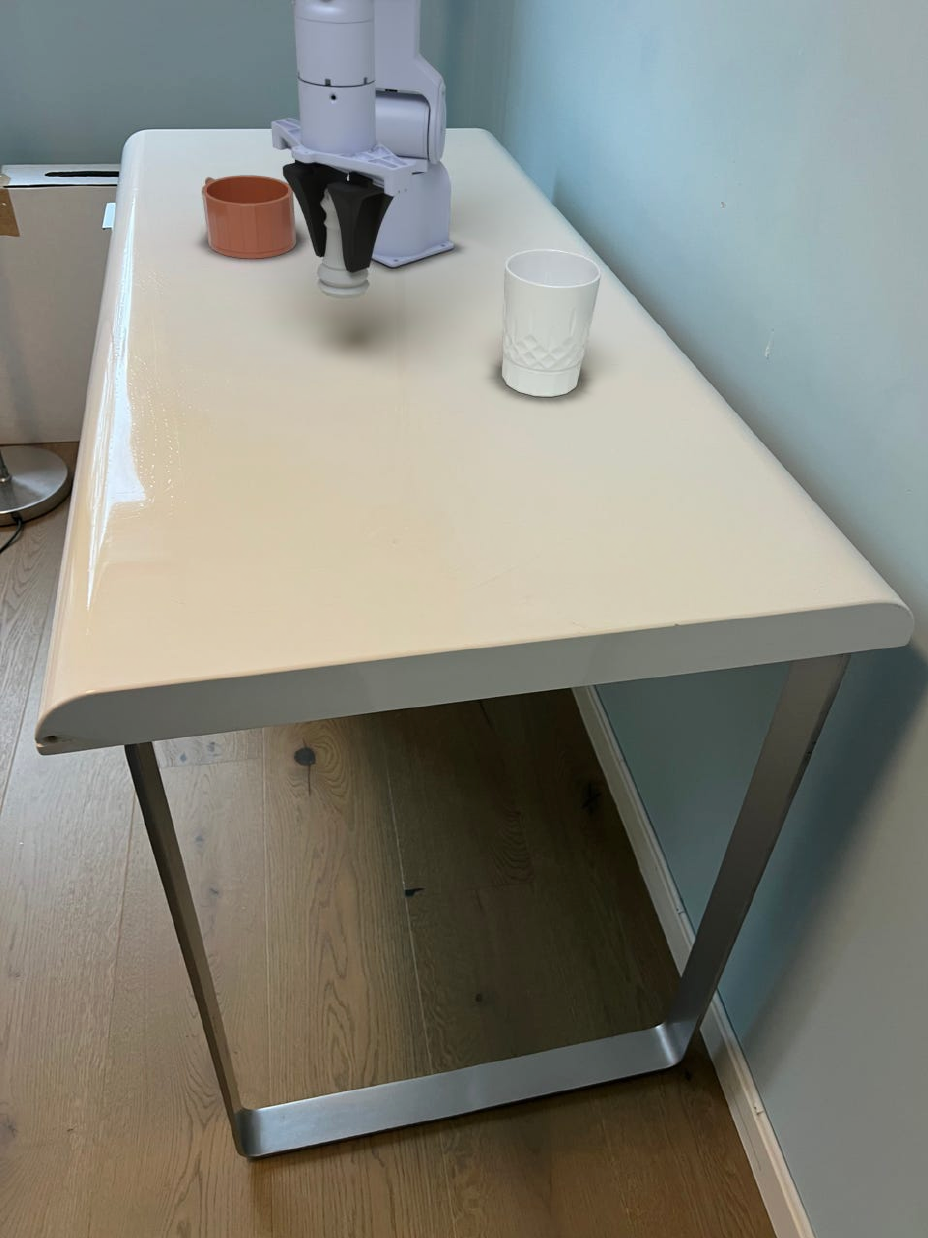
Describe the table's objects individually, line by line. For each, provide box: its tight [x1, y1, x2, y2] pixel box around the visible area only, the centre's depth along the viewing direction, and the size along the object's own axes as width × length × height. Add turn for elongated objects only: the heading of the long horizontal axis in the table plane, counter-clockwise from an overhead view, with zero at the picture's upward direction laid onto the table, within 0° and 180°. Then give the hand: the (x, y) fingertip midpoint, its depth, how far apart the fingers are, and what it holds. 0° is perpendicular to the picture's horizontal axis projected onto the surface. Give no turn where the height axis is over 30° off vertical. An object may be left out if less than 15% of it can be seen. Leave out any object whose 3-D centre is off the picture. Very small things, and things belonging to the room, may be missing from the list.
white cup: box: [501, 248, 602, 398], centre depth 80 cm, size 8×8×10 cm
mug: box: [201, 174, 297, 260], centre depth 102 cm, size 12×9×6 cm
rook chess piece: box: [316, 188, 371, 300], centre depth 77 cm, size 4×4×8 cm
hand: (342, 260), depth 78 cm, fingers closed on rook chess piece, 3 cm apart
